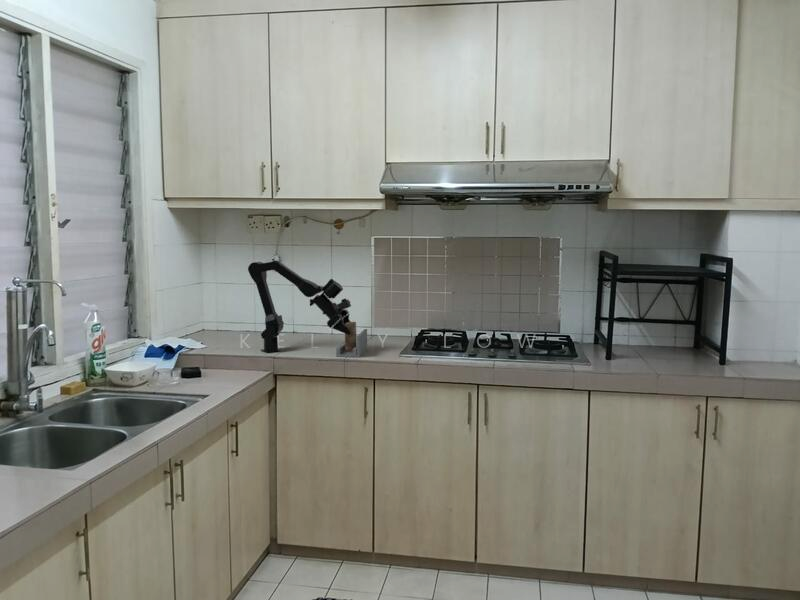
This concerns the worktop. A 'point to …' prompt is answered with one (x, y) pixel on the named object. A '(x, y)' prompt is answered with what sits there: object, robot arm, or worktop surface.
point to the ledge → (357, 349)
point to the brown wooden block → (350, 337)
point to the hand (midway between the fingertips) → (352, 332)
